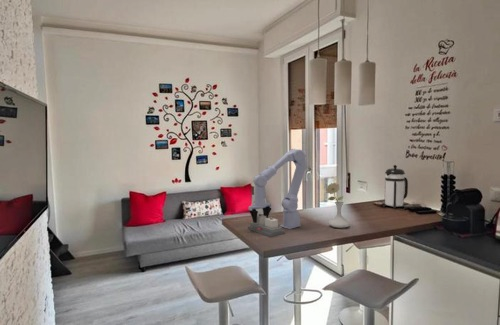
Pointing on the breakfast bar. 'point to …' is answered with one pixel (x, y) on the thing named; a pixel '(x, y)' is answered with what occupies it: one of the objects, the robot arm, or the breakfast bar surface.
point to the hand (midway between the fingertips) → (260, 221)
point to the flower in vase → (338, 219)
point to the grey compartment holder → (267, 227)
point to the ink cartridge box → (260, 211)
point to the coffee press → (395, 187)
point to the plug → (260, 219)
